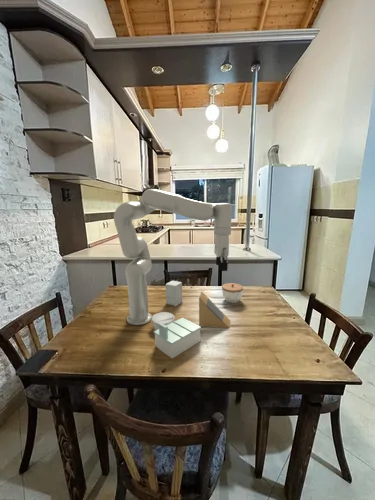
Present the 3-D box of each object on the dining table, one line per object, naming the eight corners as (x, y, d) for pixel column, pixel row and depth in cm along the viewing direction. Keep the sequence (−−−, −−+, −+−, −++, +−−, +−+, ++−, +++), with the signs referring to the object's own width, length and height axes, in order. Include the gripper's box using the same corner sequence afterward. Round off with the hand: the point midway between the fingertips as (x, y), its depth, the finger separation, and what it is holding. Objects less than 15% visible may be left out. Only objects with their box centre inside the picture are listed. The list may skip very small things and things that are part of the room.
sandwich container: (230, 328, 111) (231, 299, 108) (198, 325, 114) (198, 297, 111) (230, 320, 119) (231, 292, 116) (201, 317, 122) (201, 290, 119)
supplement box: (182, 301, 141) (182, 282, 138) (175, 306, 135) (175, 286, 132) (173, 299, 145) (172, 280, 142) (165, 303, 139) (165, 283, 136)
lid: (153, 333, 97) (153, 320, 95) (182, 319, 108) (182, 307, 107) (171, 345, 88) (171, 331, 87) (201, 328, 100) (201, 316, 99)
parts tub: (155, 346, 98) (154, 333, 97) (182, 331, 109) (182, 319, 108) (172, 358, 90) (172, 344, 89) (200, 341, 101) (200, 328, 100)
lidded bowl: (227, 294, 151) (227, 278, 148) (245, 299, 143) (246, 282, 141) (218, 301, 141) (218, 284, 138) (237, 306, 133) (238, 288, 131)
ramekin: (166, 336, 105) (166, 325, 104) (147, 329, 111) (146, 319, 110) (179, 324, 115) (179, 315, 114) (160, 319, 120) (160, 310, 119)
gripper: (211, 228, 112) (210, 263, 115) (217, 233, 95) (216, 273, 99) (226, 228, 112) (225, 262, 116) (235, 233, 95) (234, 273, 99)
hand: (221, 267), depth 107 cm, fingers open, 9 cm apart
